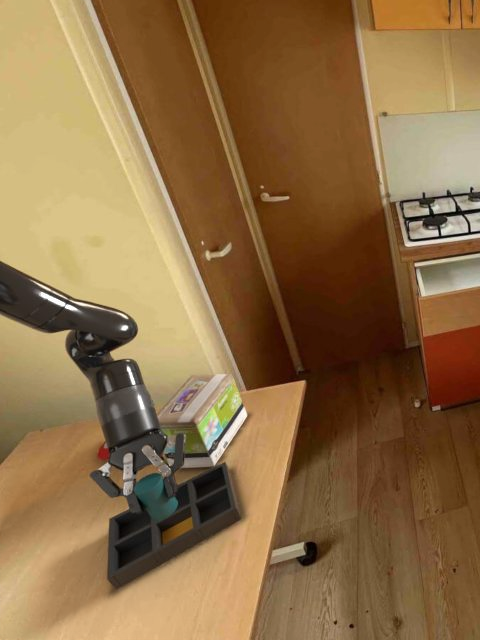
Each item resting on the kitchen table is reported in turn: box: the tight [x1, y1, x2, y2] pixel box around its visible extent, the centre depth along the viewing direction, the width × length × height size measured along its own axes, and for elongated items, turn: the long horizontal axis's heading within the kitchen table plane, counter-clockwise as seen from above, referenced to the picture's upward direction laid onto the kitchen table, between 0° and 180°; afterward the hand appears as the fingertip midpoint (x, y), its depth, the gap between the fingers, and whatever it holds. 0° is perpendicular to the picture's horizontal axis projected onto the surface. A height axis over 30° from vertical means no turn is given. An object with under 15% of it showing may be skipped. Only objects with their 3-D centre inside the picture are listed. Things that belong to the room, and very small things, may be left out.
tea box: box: [156, 373, 248, 469], centre depth 99 cm, size 15×10×15 cm
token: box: [134, 472, 178, 520], centre depth 77 cm, size 4×4×8 cm
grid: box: [106, 461, 242, 590], centre depth 84 cm, size 20×13×4 cm
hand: (157, 504), depth 75 cm, fingers closed on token, 4 cm apart
